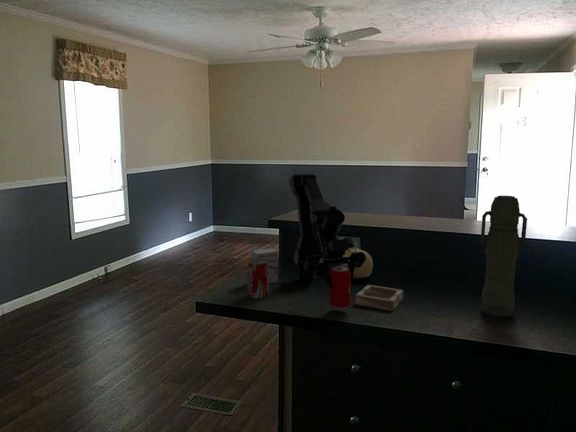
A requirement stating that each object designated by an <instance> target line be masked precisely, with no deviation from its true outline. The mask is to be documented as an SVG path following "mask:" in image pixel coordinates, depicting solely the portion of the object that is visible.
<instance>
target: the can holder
mask: <svg viewBox="0 0 576 432" xmlns="http://www.w3.org/2000/svg"><path fill="white" fill-rule="evenodd" d="M403 300H404V289H400V288H392V287H387V286H379V285H372V284H367V285H366V286H365V287H364V288H362V289H361V290H360V291H358V292H357V293H356V294H355V300H354V301H355V302H354V303H355V305H357V306H363V307H367V308H368V307H369V308H374V309H381V310H385V311H392V312H394V310H395V309H396V308H397V307H398V305H399V304H401V302H402V301H403Z"/></svg>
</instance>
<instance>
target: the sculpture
mask: <svg viewBox="0 0 576 432" xmlns="http://www.w3.org/2000/svg"><path fill="white" fill-rule="evenodd" d="M345 252H346V253H345V255H343V257H350V255H351V253H352V252H363V253H364V254H365V256H366V260H365V262H364V263H363V265H362V266H361V267H359V268H355V269H354V275H353V279H363V278H365V279H366V278H369V276H370V275H371V274H372V272H373V268H374V264H373V263H374V262H373V258H372V256H371V255H370V254H369V253H368V252H367V251H366V250H362V249H360V248H359V247H357V248H348V250H346V251H345ZM340 266H346V264H340Z"/></svg>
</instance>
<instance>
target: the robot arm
mask: <svg viewBox="0 0 576 432" xmlns="http://www.w3.org/2000/svg"><path fill="white" fill-rule="evenodd" d="M289 186H290V188H291V193H292V194H293V195H294V197H295V198H296V203H297V205H296V206H297V213H298V214H297V216H298V224H299V225H298V226H299V234H300V236H299V237H300V238H299V239H298V242H297V244H296V250H295V252H294V254H293V263H294V264H295V265H296V266H298V276H297V277H296V278H294V280H295V281H299V282H305V283H312V282H314V281H315V280H317V279H318V278H319V277H320V278H321V279H322V281H323V282H324V283H325V284H326V285H327V286H328V288H329V289H330V288H332V282H331V279H330V272H329V270H328V266H332V265H334V266H335V265H341V264H346V267H348V268H349V270H350V273H351V286H350V287H353V285H354V278H353V275H354V269H355V268H359V267H361V266H362V265H363V263H364V262H365V260H366V256H365V254H364V253H363V252H352V253H351V255H350V257H343V255H345V253H346V251H348V250H349V249H352V248H353V247H354V242H353V238H352V236H346V237H344V238H343V239H338V234H337V233H338V232H339V231H340V229H341V227H342V226H343V223H344V221H345V219H346V216H345V214H344V212H342V211H341V210H340V209H337V207H336V206H331V205H330V204H329V203H328V202H327V201H325V200H324V196H323V195H322V192H321V190H320V189H321V188H320V187H319V184H318V182H317V175H316V174H314V173H296V174H295V173H293V174H292V176H291V177H289ZM313 226H314V227H316V226H317V227H318V228H317V231H316V233H317V234H316V237H317V238H318V239H316V237H315V236H314V232H313ZM319 244H320V245H319ZM321 255H323V257H321ZM315 274H316V275H317V276H316V275H315Z"/></svg>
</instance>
